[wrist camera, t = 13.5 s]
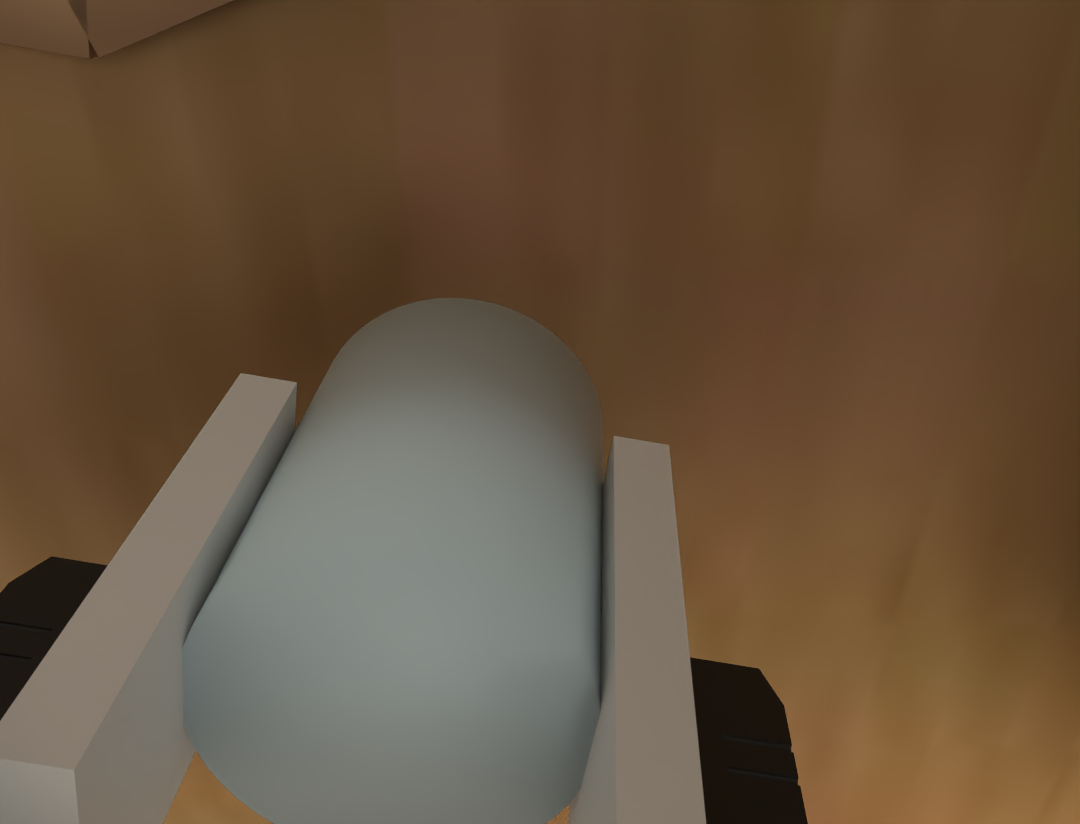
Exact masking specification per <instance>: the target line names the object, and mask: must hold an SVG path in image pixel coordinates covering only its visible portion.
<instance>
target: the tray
mask: <svg viewBox="0 0 1080 824" xmlns="http://www.w3.org/2000/svg"><path fill="white" fill-rule="evenodd" d="M231 1H233V0H0V43H1V44H7V45H13V46H18V47H24V48H30V49H35V50H41V51H47V52H52V53H58V54H64V55H69V56H75V57H81V58H86V59H91V58H93V57H95V56H98V57H99V58H101V57H103V56H105V55H108V54H110V53H112V52H115V51H117V50H119V49H122V48H124V47H126V46H129V45H131V44H133V43H136V42H138V41H140V40H142V39H145V38H147V37H149V36H152V35H154V34H156V33H159V32H161V31H163V30H166V29H168V28H170V27H173V26H175V25H177V24H180V23H182V22H184V21H187V20H189V19H191V18H194V17H196V16H198V15H201V14H203V13H205V12H208V11H210V10H212V9H215V8H217V7H219V6H222V5H224V4H226V3H229V2H231Z"/></svg>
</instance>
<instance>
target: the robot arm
mask: <svg viewBox="0 0 1080 824" xmlns="http://www.w3.org/2000/svg"><path fill="white" fill-rule="evenodd" d="M296 394H297V382H291V381H285V380H279V379H273V378H268V377H262V376H256V375H250V374H244V373H240V375H239V376H238V378H237V379H236V381H235V382H234V383H233V385H232V386H231V388H230V389H229V391H228V392H227V394H226V395H225V396H224V398H223V399H222V401H221V402H220V404H219V405H218V407H217V408H216V410H215V411H214V412H213V414H212V415H211V417H210V418H209V420H208V421H207V423H206V424H205V425H204V427H203V428H202V430H201V431H200V433H199V434H198V436H197V437H196V438H195V440H194V441H193V443H192V444H191V446H190V447H189V449H188V450H187V451H186V453H185V454H184V456H183V457H182V459H181V460H180V462H179V463H178V465H177V466H176V467H175V469H174V470H173V472H172V473H171V475H170V476H169V478H168V479H167V480H166V482H165V483H164V485H163V486H162V488H161V489H160V491H159V492H158V493H157V495H156V496H155V498H154V499H153V501H152V502H151V504H150V505H149V506H148V508H147V509H146V511H145V512H144V514H143V515H142V517H141V518H140V519H139V521H138V522H137V524H136V525H135V527H134V528H133V530H132V531H131V533H130V534H129V535H128V537H127V538H126V540H125V541H124V543H123V544H122V546H121V547H120V548H119V550H118V551H117V553H116V554H115V556H114V557H113V559H112V560H111V561H110V563H109V564H108V566H107V565H101V564H94V563H88V562H82V561H76V560H70V559H64V558H57V557H50V558H48V559H47V560H45V561H43V562H42V563H40V564H39V565H37V566H35V567H34V568H32V569H31V570H29V571H27V572H26V573H24V574H23V575H21V576H19V577H18V578H16V579H15V580H13V581H11V582H10V583H8V585H7V586H6V587H5V588H4V590H3V591H2V592H1V593H0V824H163V822H164V820H165V818H166V815H167V813H168V811H169V809H170V807H171V804H172V802H173V800H174V798H175V796H176V793H177V791H178V789H179V787H180V785H181V782H182V780H183V778H184V776H185V774H186V771H187V769H188V767H189V765H190V763H191V760H192V758H193V756H194V754H195V751H196V750H195V748H194V746H193V744H192V742H191V740H190V738H189V736H188V733H187V731H186V729H185V727H184V723H183V668H182V647H183V645H184V643H185V641H186V638H187V636H188V634H189V632H190V630H191V627H192V626H193V624H194V622H195V620H196V618H197V616H198V614H199V612H200V611H201V609H202V607H203V605H204V603H205V601H206V599H207V597H208V595H209V594H210V592H211V590H212V588H213V586H214V584H215V582H216V580H217V578H218V577H219V575H220V573H221V571H222V569H223V567H224V565H225V563H226V562H227V560H228V558H229V556H230V554H231V552H232V550H233V548H234V546H235V545H236V543H237V541H238V539H239V537H240V535H241V533H242V531H243V529H244V528H245V526H246V524H247V522H248V520H249V518H250V516H251V514H252V513H253V511H254V509H255V507H256V505H257V503H258V501H259V499H260V497H261V496H262V494H263V492H264V490H265V488H266V486H267V484H268V482H269V480H270V479H271V477H272V475H273V473H274V471H275V469H276V467H277V465H278V464H279V462H280V460H281V458H282V456H283V454H284V452H285V450H286V448H287V447H288V445H289V443H290V441H291V439H292V437H293V435H294V433H295V414H296ZM791 746H792V743H791V738H790V733H789V728H788V723H787V718H786V714H785V709H784V705H783V704H782V702H781V701H780V699H779V698H778V696H777V695H776V693H775V692H774V690H773V689H772V687H771V686H770V684H769V683H768V681H767V680H766V678H765V677H764V675H763V674H762V672H761V671H760V670H759V669H758V668H752V667H745V666H739V665H733V664H727V663H721V662H715V661H709V660H703V659H696V658H690V653H689V643H688V633H687V623H686V613H685V603H684V592H683V582H682V572H681V562H680V552H679V542H678V532H677V521H676V511H675V501H674V491H673V481H672V471H671V460H670V450H669V445H666V444H660V443H654V442H648V441H642V440H636V439H630V438H624V437H619V436H614V437H613V441H612V446H611V450H610V454H609V459H608V463H607V468H606V472H605V476H604V481H603V486H602V591H601V697H600V715H599V719H598V723H597V727H596V731H595V735H594V738H593V742H592V746H591V750H590V754H589V758H588V761H587V765H586V769H585V773H584V777H583V781H582V785H581V788H580V790H579V792H578V793H577V794H576V795H575V797H574V798H573V799H572V800H571V802H570V803H569V824H808V823H807V818H806V813H805V808H804V803H803V798H802V793H801V788H800V786H799V785H798V773H797V768H796V763H795V758H794V753H792V752H791Z"/></svg>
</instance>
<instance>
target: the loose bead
mask: <svg viewBox="0 0 1080 824" xmlns="http://www.w3.org/2000/svg"><path fill="white" fill-rule="evenodd" d="M602 486H603V417H602V411H601V405H600V401H599V398H598V395H597V392H596V389H595V387H594V384H593V382H592V380H591V378H590V376H589V374H588V372H587V371H586V369H585V368H584V366H583V365H582V363H581V362H580V360H579V359H578V357H577V356H576V355H575V354H574V353H573V352H572V351H571V349H570V348H569V347H568V346H567V345H566V344H565V343H564V342H563V341H562V340H561V339H560V338H558V337H557V336H556V335H555V334H554V333H553V332H551V331H550V330H549V329H547V328H546V327H544V326H543V325H541V324H540V323H538V322H537V321H535V320H534V319H532V318H530V317H528V316H526V315H524V314H522V313H520V312H518V311H515V310H513V309H510V308H507V307H504V306H501V305H498V304H495V303H490V302H486V301H481V300H476V299H466V298H436V299H429V300H422V301H417V302H413V303H410V304H406V305H403V306H400V307H397V308H395V309H393V310H390V311H388V312H386V313H383V314H382V315H380V316H378V317H377V318H375V319H373V320H372V321H370V322H368V323H367V324H366V325H364V326H363V327H362V328H361V329H360V330H358V331H357V332H356V333H355V334H354V335H353V336H352V337H351V338H350V339H349V340H348V341H347V342H346V343H345V344H344V345H343V347H342V348H341V350H340V351H339V353H338V354H337V356H336V357H335V359H334V360H333V362H332V364H331V366H330V367H329V369H328V371H327V373H326V375H325V377H324V379H323V381H322V382H321V384H320V386H319V388H318V390H317V392H316V394H315V396H314V398H313V399H312V401H311V403H310V405H309V407H308V409H307V411H306V413H305V415H304V416H303V418H302V420H301V422H300V424H299V426H298V428H297V430H296V431H295V433H294V435H293V437H292V439H291V441H290V443H289V445H288V447H287V448H286V450H285V452H284V454H283V456H282V458H281V460H280V462H279V464H278V465H277V467H276V469H275V471H274V473H273V475H272V477H271V479H270V480H269V482H268V484H267V486H266V488H265V490H264V492H263V494H262V496H261V497H260V499H259V501H258V503H257V505H256V507H255V509H254V511H253V513H252V514H251V516H250V518H249V520H248V522H247V524H246V526H245V528H244V529H243V531H242V533H241V535H240V537H239V539H238V541H237V543H236V545H235V546H234V548H233V550H232V552H231V554H230V556H229V558H228V560H227V562H226V563H225V565H224V567H223V569H222V571H221V573H220V575H219V577H218V578H217V580H216V582H215V584H214V586H213V588H212V590H211V592H210V594H209V595H208V597H207V599H206V601H205V603H204V605H203V607H202V609H201V611H200V612H199V614H198V616H197V618H196V620H195V622H194V624H193V626H192V627H191V630H190V632H189V634H188V636H187V638H186V641H185V643H184V645H183V647H182V668H183V723H184V727H185V729H186V731H187V733H188V736H189V738H190V740H191V742H192V744H193V746H194V748H195V750H196V751H197V753H198V754H199V756H200V757H201V759H202V760H203V762H204V763H205V765H206V766H207V767H208V769H209V770H210V771H211V772H212V773H213V774H214V776H215V777H216V778H217V779H218V780H219V782H220V783H221V784H222V785H223V786H224V787H226V788H227V789H228V790H229V791H230V792H231V793H232V794H233V795H234V796H235V797H236V798H237V799H239V800H240V801H241V802H243V803H244V804H245V805H247V806H248V807H249V808H251V809H252V810H253V811H255V812H256V813H257V814H259V815H261V816H262V817H264V818H265V819H267V820H269V821H270V822H272V823H274V824H546V823H547V822H549V821H550V820H552V819H553V818H554V817H555V816H556V815H557V814H558V813H560V812H561V811H562V810H563V809H564V808H565V807H566V806H567V805H568V804H569V803H570V802H571V800H572V799H573V798H574V797H575V795H576V794H577V793H578V792H579V790H580V788H581V785H582V781H583V777H584V773H585V769H586V765H587V761H588V758H589V754H590V750H591V746H592V742H593V738H594V735H595V731H596V727H597V723H598V719H599V715H600V697H601V591H602Z"/></svg>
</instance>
